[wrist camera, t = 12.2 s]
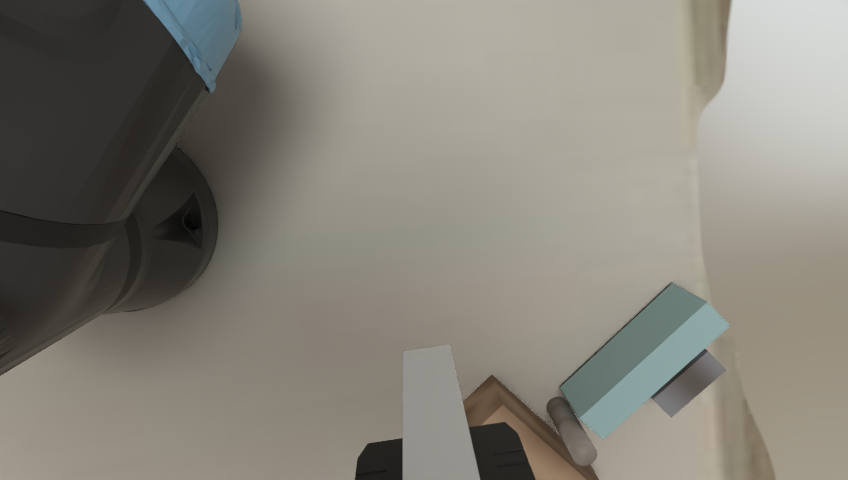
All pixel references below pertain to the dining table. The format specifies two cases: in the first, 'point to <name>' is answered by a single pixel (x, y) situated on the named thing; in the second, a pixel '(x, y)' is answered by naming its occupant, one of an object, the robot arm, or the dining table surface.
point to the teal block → (642, 358)
